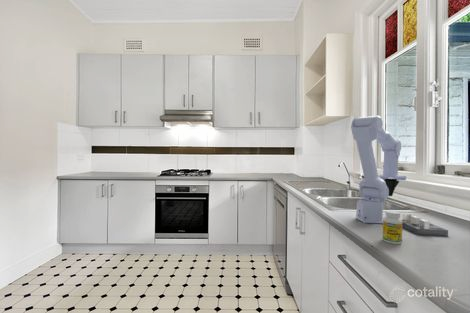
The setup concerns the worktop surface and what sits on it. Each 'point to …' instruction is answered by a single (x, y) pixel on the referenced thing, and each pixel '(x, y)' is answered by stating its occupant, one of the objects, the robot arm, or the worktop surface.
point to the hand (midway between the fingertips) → (389, 195)
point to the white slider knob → (415, 220)
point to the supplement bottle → (392, 228)
